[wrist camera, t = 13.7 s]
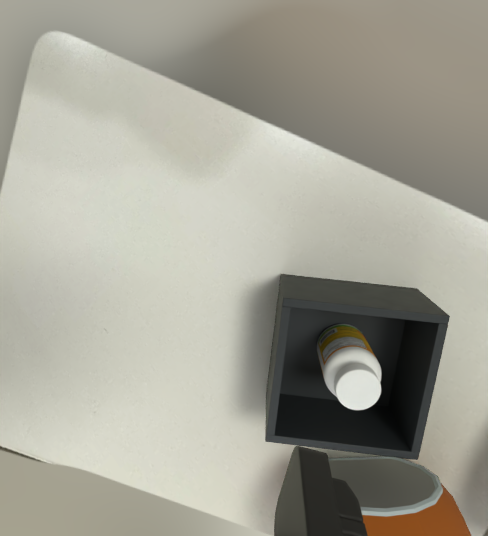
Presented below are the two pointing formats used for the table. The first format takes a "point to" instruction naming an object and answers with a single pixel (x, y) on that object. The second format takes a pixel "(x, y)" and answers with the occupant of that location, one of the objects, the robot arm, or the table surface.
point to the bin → (384, 348)
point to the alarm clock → (400, 497)
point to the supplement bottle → (349, 366)
